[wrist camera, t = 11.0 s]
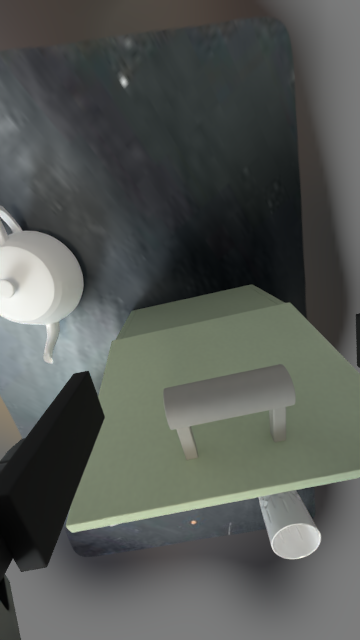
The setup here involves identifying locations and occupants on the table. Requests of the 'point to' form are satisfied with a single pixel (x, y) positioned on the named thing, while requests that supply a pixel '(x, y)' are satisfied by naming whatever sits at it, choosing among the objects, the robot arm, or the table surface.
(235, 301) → the chest
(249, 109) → the table surface
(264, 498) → the white cup
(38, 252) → the teapot
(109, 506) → the chest lid
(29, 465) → the robot arm
